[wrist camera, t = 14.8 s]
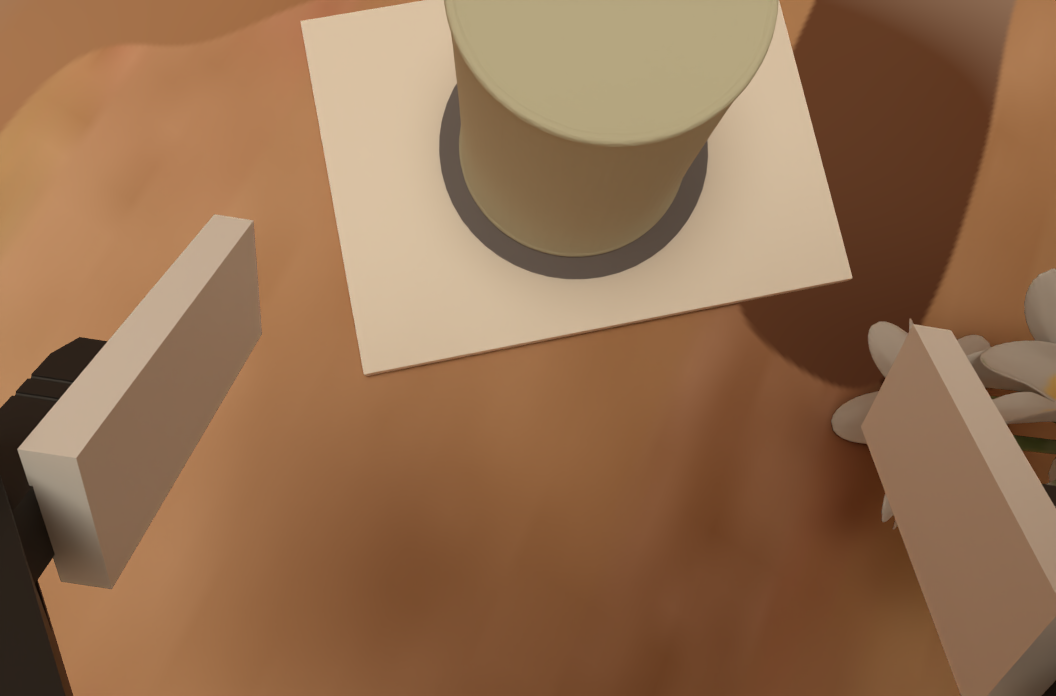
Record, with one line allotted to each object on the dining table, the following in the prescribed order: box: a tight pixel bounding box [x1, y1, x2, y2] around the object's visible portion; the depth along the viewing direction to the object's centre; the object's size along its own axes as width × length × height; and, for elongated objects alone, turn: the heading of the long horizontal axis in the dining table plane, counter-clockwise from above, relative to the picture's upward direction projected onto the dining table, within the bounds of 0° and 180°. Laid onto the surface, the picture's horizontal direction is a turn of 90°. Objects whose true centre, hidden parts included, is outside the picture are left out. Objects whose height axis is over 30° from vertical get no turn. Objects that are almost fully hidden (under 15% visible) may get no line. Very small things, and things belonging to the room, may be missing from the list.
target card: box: [301, 0, 852, 376], centre depth 34 cm, size 20×15×1 cm
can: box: [444, 0, 779, 257], centre depth 27 cm, size 9×9×12 cm
